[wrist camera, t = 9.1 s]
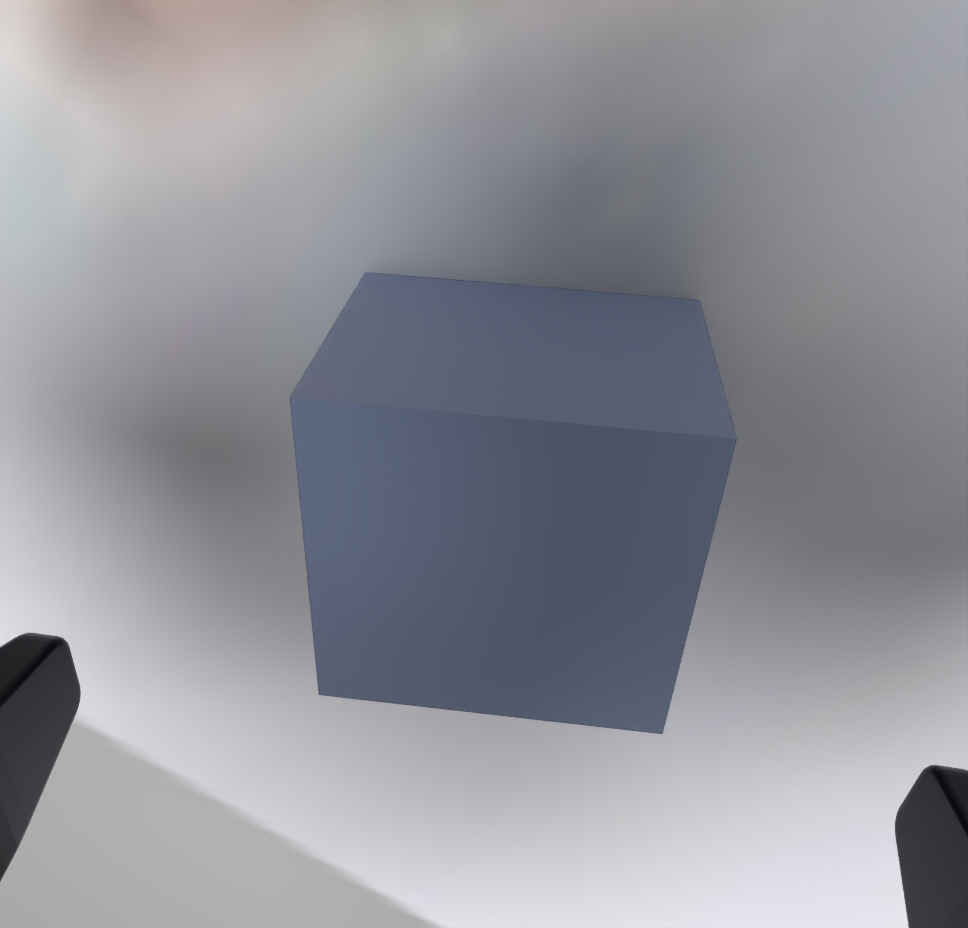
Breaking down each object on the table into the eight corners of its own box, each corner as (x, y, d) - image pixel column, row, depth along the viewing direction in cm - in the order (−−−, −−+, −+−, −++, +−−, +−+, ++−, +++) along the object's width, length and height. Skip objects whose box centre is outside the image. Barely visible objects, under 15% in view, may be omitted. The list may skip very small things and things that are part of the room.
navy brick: (698, 295, 13) (737, 438, 9) (646, 554, 15) (662, 734, 12) (367, 269, 13) (289, 397, 10) (376, 527, 16) (318, 694, 12)
